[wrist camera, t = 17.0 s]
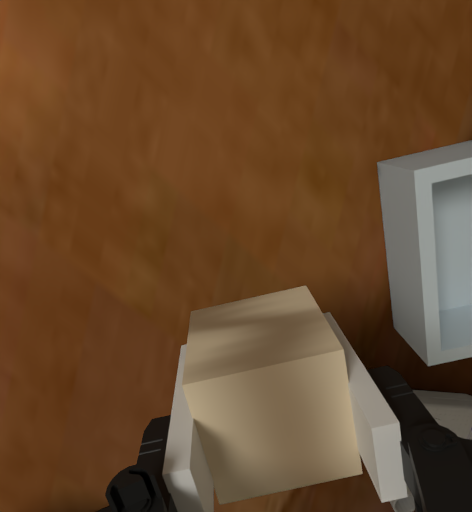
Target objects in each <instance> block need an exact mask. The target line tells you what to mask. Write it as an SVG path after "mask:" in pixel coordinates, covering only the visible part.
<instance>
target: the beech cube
mask: <svg viewBox="0 0 472 512" xmlns="http://www.w3.org/2000/svg"><path fill="white" fill-rule="evenodd" d="M348 383H349V381H348V374H347V367H346V361H345V354H344V349H343V347H342V346H341V344H340V342H339V340H338V339H337V337H336V335H335V334H334V332H333V330H332V329H331V327H330V325H329V324H328V322H327V320H326V318H325V317H324V315H323V313H322V312H321V310H320V308H319V307H318V305H317V303H316V302H315V300H314V298H313V296H312V295H311V293H310V291H309V290H308V288H307V286H302V287H298V288H293V289H289V290H284V291H280V292H275V293H271V294H267V295H262V296H258V297H253V298H249V299H244V300H240V301H236V302H231V303H227V304H222V305H218V306H213V307H209V308H205V309H200V310H196V311H191V316H190V324H189V332H188V340H187V348H186V356H185V364H184V372H183V380H182V387H183V391H184V394H185V397H186V400H187V403H188V406H189V409H190V413H191V416H192V418H193V419H194V422H195V425H196V428H197V431H198V435H199V438H200V441H201V444H202V447H203V450H204V453H205V456H206V460H207V463H208V466H209V469H210V472H211V475H212V478H213V481H214V488H215V491H216V495H217V498H218V501H219V504H220V505H221V504H225V503H230V502H235V501H239V500H244V499H248V498H253V497H258V496H262V495H267V494H272V493H276V492H281V491H285V490H290V489H295V488H299V487H304V486H308V485H313V484H318V483H322V482H327V481H331V480H336V479H341V478H345V477H350V476H354V475H359V474H363V473H362V467H361V460H360V454H359V451H358V446H357V440H356V433H355V427H354V420H353V414H352V408H351V401H350V395H349V388H348Z"/></svg>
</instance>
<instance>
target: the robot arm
mask: <svg viewBox="0 0 472 512" xmlns="http://www.w3.org/2000/svg"><path fill="white" fill-rule="evenodd" d="M323 315H324V317H325V318H326V320H327V322H328V324H329V325H330V327H331V329H332V330H333V332H334V334H335V335H336V337H337V339H338V340H339V342H340V344H341V346H342V347H343V349H344V354H345V361H346V367H347V374H348V381H349V383H348V388H349V395H350V401H351V408H352V414H353V420H354V427H355V433H356V440H357V446H358V451H359V453H360V455H361V457H362V460H363V462H364V464H365V466H366V469H367V471H368V473H369V475H370V478H371V480H372V482H373V484H374V486H375V489H376V491H377V493H378V495H379V498H380V500H381V502H387V501H392V500H396V499H401V498H405V497H408V496H407V487H406V484H407V486H408V488H409V490H410V492H411V493H412V495H413V497H414V504H415V512H472V440H471V439H464V438H461V437H458V436H457V435H456V434H455V433H454V432H452V431H451V430H450V429H448V428H446V427H443V426H441V425H439V424H438V423H437V422H436V420H435V419H434V418H433V417H432V415H431V414H430V413H429V411H428V410H427V409H426V407H425V406H424V405H423V403H422V402H421V401H420V399H419V398H418V397H417V396H416V394H415V393H414V392H413V390H412V389H411V388H410V386H409V385H407V382H406V381H405V380H404V378H403V377H402V376H401V374H400V373H399V372H397V371H395V370H394V369H392V368H390V367H389V366H383V367H379V368H374V369H370V370H366V369H365V367H364V366H363V364H362V362H361V361H360V359H359V358H358V356H357V354H356V353H355V351H354V350H353V348H352V347H351V345H350V343H349V342H348V340H347V339H346V337H345V336H344V334H343V332H342V331H341V329H340V328H339V326H338V324H337V323H336V321H335V320H334V318H333V317H332V315H331V313H330V312H327V313H323ZM186 348H187V344H186V345H182V346H181V352H180V359H179V365H178V372H177V379H176V385H175V392H174V399H173V406H172V412H171V415H169V416H164V417H160V418H155V419H152V420H151V422H150V423H149V425H148V426H147V428H146V429H145V431H144V434H143V438H142V443H141V444H142V445H141V447H140V451H139V456H138V460H137V464H136V465H133V466H129V467H127V468H126V469H124V470H122V471H120V472H119V473H118V474H117V475H116V476H115V477H114V478H113V479H112V480H111V482H110V484H109V485H108V487H107V490H106V495H105V496H106V498H107V500H108V503H109V505H110V506H109V507H106V508H103V509H101V510H99V511H97V512H214V481H213V478H212V475H211V472H210V469H209V466H208V463H207V460H206V456H205V453H204V450H203V447H202V444H201V441H200V438H199V435H198V431H197V428H196V425H195V422H194V419H193V418H192V416H191V413H190V409H189V406H188V403H187V400H186V397H185V394H184V391H183V387H182V380H183V372H184V364H185V356H186Z"/></svg>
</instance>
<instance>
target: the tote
mask: <svg viewBox="0 0 472 512" xmlns="http://www.w3.org/2000/svg"><path fill="white" fill-rule="evenodd" d="M377 167H378V177H379V187H380V196H381V206H382V216H383V226H384V236H385V245H386V255H387V265H388V275H389V285H390V294H391V304H392V314H393V324H394V328H395V329H396V330H397V332H398V333H399V334H400V335H401V336H402V337H403V338H404V340H405V341H406V342H407V343H408V344H409V345H410V346H411V348H412V349H413V350H414V351H415V352H416V353H417V354H418V355H419V357H420V358H421V359H422V360H423V361H424V362H425V363H426V365H427V366H432V365H437V364H441V363H446V362H450V361H455V360H460V359H464V358H469V357H472V140H471V141H467V142H462V143H458V144H454V145H450V146H445V147H441V148H437V149H432V150H428V151H424V152H419V153H415V154H411V155H406V156H402V157H398V158H393V159H389V160H385V161H381V162H377Z"/></svg>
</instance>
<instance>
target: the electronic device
mask: <svg viewBox="0 0 472 512" xmlns="http://www.w3.org/2000/svg"><path fill="white" fill-rule="evenodd" d="M413 392H414V393H415V394H416V396H417V397H418V398H419V399H420V401H421V402H422V403H423V405H424V406H425V407H426V409H427V410H428V411H429V413H430V414H431V415H432V417H433V418H434V419H435V420H436V422H437V423H438V424H439V425H441V426H443V427H446V428H448V429H450V430H451V431H452V432H454V433H455V434H456V435H457V436H458V437H461V438H464V439H471V440H472V396H470V395H468V394H461V393H449V392H436V391H424V390H413ZM406 487H407V496H408V497H405V498H401V499H396V500H392V501H390V503H391V505H392V507H393V509H394V511H395V512H412V511H414V510H415V504H414V497H413V495H412V493H411V492H410V490H409V488H408V486H407V484H406Z"/></svg>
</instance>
